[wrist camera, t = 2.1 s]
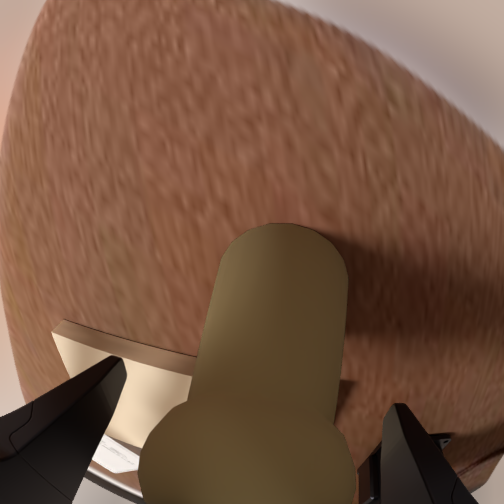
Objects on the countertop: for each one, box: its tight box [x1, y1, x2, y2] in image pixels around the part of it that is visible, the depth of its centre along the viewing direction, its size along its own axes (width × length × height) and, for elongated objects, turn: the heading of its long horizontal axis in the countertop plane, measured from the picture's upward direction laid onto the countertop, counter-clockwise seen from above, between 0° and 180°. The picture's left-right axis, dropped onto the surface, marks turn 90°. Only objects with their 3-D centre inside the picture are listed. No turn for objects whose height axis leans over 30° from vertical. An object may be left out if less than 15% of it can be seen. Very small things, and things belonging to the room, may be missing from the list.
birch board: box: [51, 319, 197, 448], centre depth 20 cm, size 18×13×2 cm
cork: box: [138, 224, 356, 504], centre depth 9 cm, size 6×6×11 cm
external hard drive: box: [92, 434, 142, 473], centre depth 28 cm, size 2×8×12 cm
